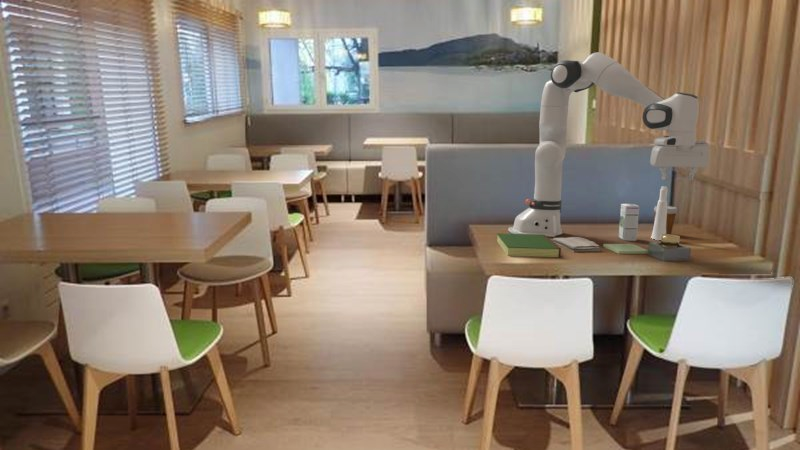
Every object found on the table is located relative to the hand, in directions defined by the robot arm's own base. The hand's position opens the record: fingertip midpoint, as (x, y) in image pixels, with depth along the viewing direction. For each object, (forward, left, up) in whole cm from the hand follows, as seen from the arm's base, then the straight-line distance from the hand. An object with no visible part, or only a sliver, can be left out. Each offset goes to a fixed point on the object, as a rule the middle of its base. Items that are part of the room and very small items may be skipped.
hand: (677, 180), depth 209 cm
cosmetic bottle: (+15, +31, -28) cm, 44 cm away
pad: (-10, +12, -28) cm, 32 cm away
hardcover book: (-48, +15, -29) cm, 58 cm away
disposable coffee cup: (+23, +41, -28) cm, 55 cm away
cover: (0, 0, -28) cm, 28 cm away
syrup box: (+1, +31, -28) cm, 42 cm away
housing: (0, 0, -28) cm, 28 cm away
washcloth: (-27, +18, -29) cm, 43 cm away
